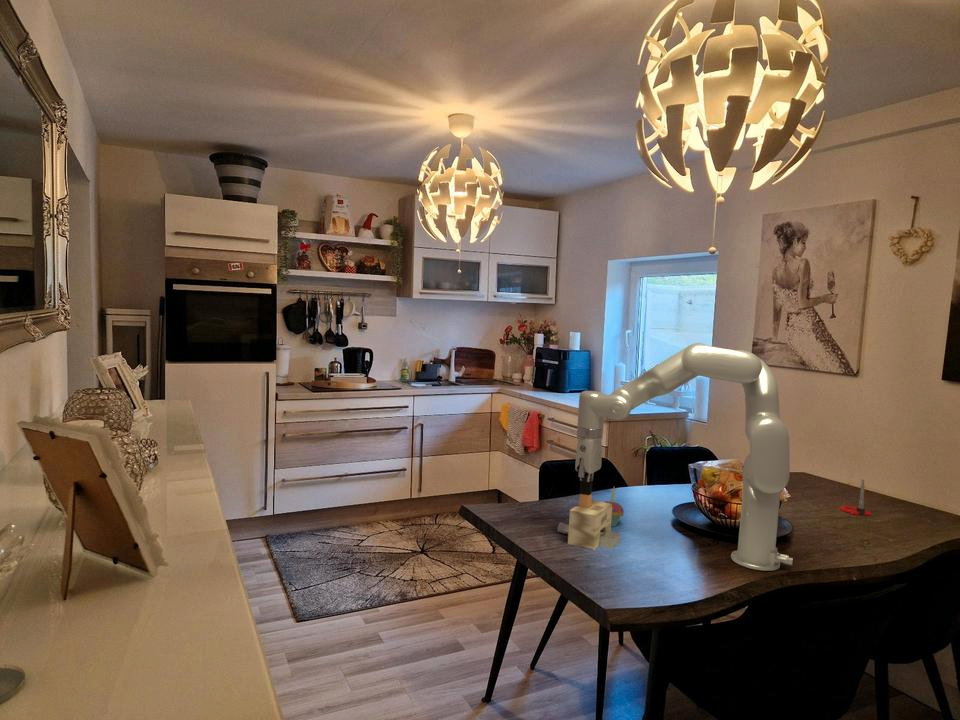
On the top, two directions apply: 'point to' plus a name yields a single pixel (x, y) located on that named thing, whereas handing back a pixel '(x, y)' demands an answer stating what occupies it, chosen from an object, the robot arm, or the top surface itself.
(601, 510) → the block
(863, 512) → the grey spike red base
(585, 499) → the plunger
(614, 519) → the cupcake
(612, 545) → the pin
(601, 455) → the robot arm
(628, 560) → the top surface
